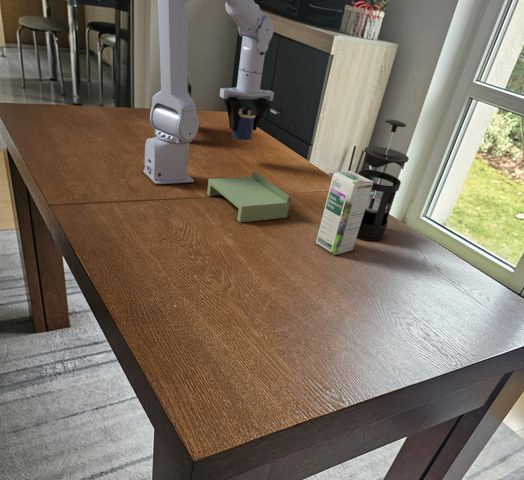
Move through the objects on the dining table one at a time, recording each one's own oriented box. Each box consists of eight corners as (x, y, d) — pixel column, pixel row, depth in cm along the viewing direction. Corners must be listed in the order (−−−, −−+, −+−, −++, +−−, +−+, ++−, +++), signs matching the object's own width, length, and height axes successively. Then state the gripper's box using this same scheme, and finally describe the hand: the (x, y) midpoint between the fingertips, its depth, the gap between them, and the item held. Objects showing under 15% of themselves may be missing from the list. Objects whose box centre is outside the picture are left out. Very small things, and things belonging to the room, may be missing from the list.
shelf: (239, 222, 104) (242, 200, 102) (206, 194, 114) (208, 173, 111) (286, 217, 110) (291, 196, 108) (252, 191, 120) (255, 171, 117)
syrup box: (314, 243, 102) (331, 172, 93) (334, 238, 106) (352, 169, 97) (334, 255, 99) (354, 183, 90) (354, 250, 103) (375, 180, 94)
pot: (237, 140, 129) (241, 110, 124) (226, 133, 132) (230, 103, 128) (256, 140, 132) (261, 110, 127) (245, 133, 135) (249, 104, 131)
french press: (393, 243, 109) (431, 131, 95) (354, 242, 106) (388, 127, 92) (369, 219, 117) (401, 114, 103) (332, 218, 114) (360, 109, 100)
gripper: (266, 68, 129) (258, 124, 137) (216, 64, 122) (210, 124, 130) (281, 75, 124) (272, 132, 133) (230, 71, 117) (223, 132, 125)
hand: (242, 129), depth 131 cm, fingers closed on pot, 5 cm apart
